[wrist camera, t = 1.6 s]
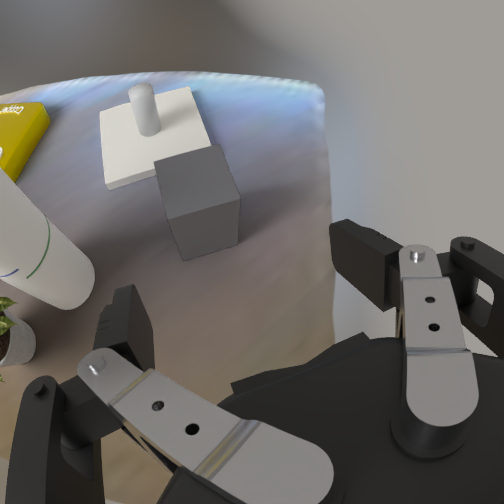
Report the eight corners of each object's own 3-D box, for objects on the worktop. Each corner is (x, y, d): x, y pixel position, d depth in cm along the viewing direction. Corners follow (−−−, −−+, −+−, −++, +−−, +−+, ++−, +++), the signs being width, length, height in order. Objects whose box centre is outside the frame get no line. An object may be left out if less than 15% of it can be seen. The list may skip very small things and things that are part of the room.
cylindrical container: (40, 263, 33) (-99, 141, 9) (88, 242, 34) (-35, 87, 11) (50, 317, 31) (-122, 226, 7) (101, 298, 32) (-61, 168, 9)
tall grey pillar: (183, 261, 34) (167, 219, 25) (169, 213, 36) (153, 161, 27) (237, 244, 35) (240, 198, 26) (220, 198, 37) (219, 143, 28)
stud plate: (108, 190, 37) (86, 149, 29) (102, 118, 41) (86, 77, 33) (214, 159, 39) (212, 112, 31) (189, 93, 44) (185, 49, 36)
